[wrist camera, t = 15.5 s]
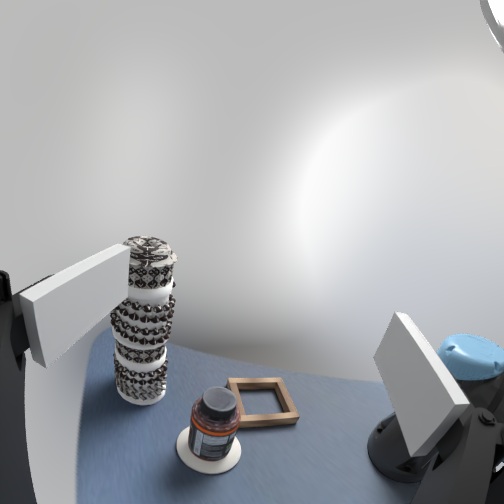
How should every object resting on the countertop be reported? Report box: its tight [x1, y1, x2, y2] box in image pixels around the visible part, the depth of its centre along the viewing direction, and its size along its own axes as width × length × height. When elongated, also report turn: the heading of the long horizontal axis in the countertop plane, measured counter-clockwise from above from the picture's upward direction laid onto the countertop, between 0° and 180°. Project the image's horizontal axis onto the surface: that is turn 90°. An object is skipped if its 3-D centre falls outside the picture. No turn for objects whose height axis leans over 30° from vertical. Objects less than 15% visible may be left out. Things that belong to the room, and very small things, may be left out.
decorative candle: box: [110, 236, 178, 405], centre depth 37 cm, size 9×9×25 cm
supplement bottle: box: [188, 387, 241, 462], centre depth 30 cm, size 6×6×11 cm
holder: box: [227, 378, 300, 428], centre depth 43 cm, size 10×10×2 cm
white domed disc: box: [177, 426, 241, 474], centre depth 32 cm, size 9×9×1 cm
